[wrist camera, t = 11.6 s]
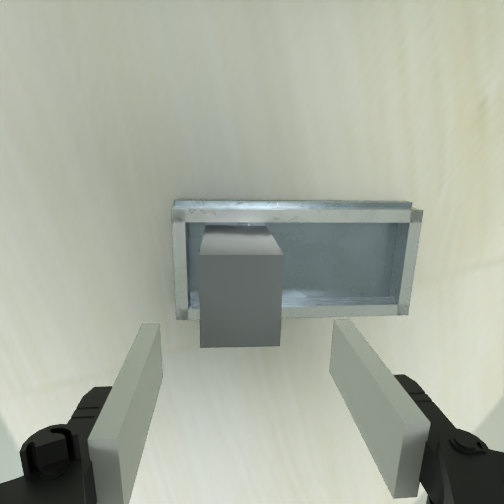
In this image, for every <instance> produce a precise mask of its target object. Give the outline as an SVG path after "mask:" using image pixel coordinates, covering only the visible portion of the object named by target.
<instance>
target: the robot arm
mask: <svg viewBox="0 0 504 504" xmlns="http://www.w3.org/2000/svg"><path fill="white" fill-rule="evenodd" d="M329 371H330V373H331V375H332V377H333V379H334V381H335V383H336V385H337V387H338V389H339V391H340V393H341V395H342V397H343V399H344V401H345V403H346V405H347V407H348V409H349V411H350V413H351V415H352V417H353V419H354V421H355V423H356V425H357V427H358V429H359V431H360V433H361V435H362V437H363V439H364V441H365V443H366V445H367V447H368V449H369V451H370V453H371V455H372V457H373V459H374V461H375V463H376V465H377V467H378V469H379V471H380V473H381V475H382V477H383V479H384V481H385V483H386V485H387V487H388V489H389V491H390V493H391V495H392V497H393V499H394V498H409V497H417V495H418V489H419V484H420V482H421V484H422V486H423V487H424V489H425V490H426V492H427V494H428V496H427V501H426V504H504V453H503V452H499V451H493V450H490V449H488V447H487V446H486V444H485V443H484V442H483V441H481V440H480V439H479V438H478V437H476V436H475V435H473V434H471V433H469V432H467V431H464V430H461V429H456V428H455V427H454V425H453V424H452V423H451V422H450V421H449V420H448V418H447V417H446V416H445V415H444V414H443V413H442V411H441V410H440V409H439V408H438V407H437V406H436V405H435V403H434V402H432V400H431V399H430V398H429V396H428V395H427V394H425V392H424V391H423V389H422V388H421V387H420V386H419V385H418V384H417V382H415V381H414V380H412V379H410V378H409V377H407V376H406V375H393V374H392V373H391V372H390V370H389V369H388V368H387V366H386V365H385V364H384V363H383V361H382V360H381V359H380V358H379V356H378V355H377V354H376V352H375V351H374V350H373V349H372V347H371V346H370V345H369V343H368V342H367V341H366V340H365V338H364V337H363V336H362V335H361V333H360V332H359V331H358V329H357V328H356V327H355V326H354V324H353V323H352V322H351V321H350V319H347V320H334V324H333V335H332V347H331V359H330V370H329ZM162 378H163V372H162V355H161V338H160V324H142V326H141V328H140V330H139V332H138V334H137V336H136V339H135V341H134V343H133V345H132V347H131V349H130V351H129V353H128V355H127V358H126V360H125V362H124V364H123V366H122V368H121V370H120V372H119V374H118V377H117V379H116V381H115V383H114V385H113V386H108V387H94V388H93V389H91V390H90V391H89V392H88V393H87V394H86V395H84V396H83V398H82V399H81V401H80V403H79V404H78V406H77V409H76V410H75V411H74V413H73V415H72V417H71V419H70V420H69V422H68V423H67V425H66V424H58V425H52V426H49V427H46V428H44V429H41V430H39V431H38V432H36V433H35V434H33V435H32V436H30V437H29V438H28V439H27V440H26V441H25V443H24V444H23V445H22V447H21V450H20V457H21V462H22V468H23V472H24V476H22V477H19V478H16V479H14V480H10V481H7V482H4V483H1V484H0V504H129V501H130V497H131V494H132V490H133V486H134V482H135V479H136V475H137V471H138V467H139V464H140V460H141V456H142V453H143V449H144V445H145V441H146V438H147V434H148V430H149V426H150V423H151V419H152V415H153V411H154V408H155V404H156V400H157V397H158V393H159V389H160V385H161V382H162Z"/></svg>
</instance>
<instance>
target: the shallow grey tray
mask: <svg viewBox="0 0 504 504" xmlns="http://www.w3.org/2000/svg"><path fill="white" fill-rule="evenodd" d="M171 214H172V237H173V259H174V281H175V304H176V320H200V298H199V252H200V248H201V243H202V239H203V235H204V231H205V226H206V225H241V226H266V227H267V228H268V230H269V231H270V233H271V235H272V236H273V238H274V239H275V241H276V242H277V244H278V246H279V247H280V249H281V250H282V252H283V253H284V275H283V294H282V313H281V318H296V317H341V316H386V315H408V311H409V304H410V297H411V291H412V284H413V277H414V270H415V263H416V257H417V250H418V243H419V236H420V230H421V223H422V216H423V210H420V209H416V208H412V202H408V201H311V200H175V201H174V207H173V208H172V209H171Z"/></svg>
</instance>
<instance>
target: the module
mask: <svg viewBox="0 0 504 504" xmlns="http://www.w3.org/2000/svg"><path fill="white" fill-rule="evenodd" d="M283 275H284V253H283V252H282V250H281V249H280V247H279V246H278V244H277V242H276V241H275V239H274V238H273V236H272V235H271V233H270V231H269V230H268V228H267V227H266V226H241V225H206V226H205V231H204V235H203V239H202V243H201V248H200V252H199V298H200V348H210V347H257V346H280V332H281V313H282V294H283Z"/></svg>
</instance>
